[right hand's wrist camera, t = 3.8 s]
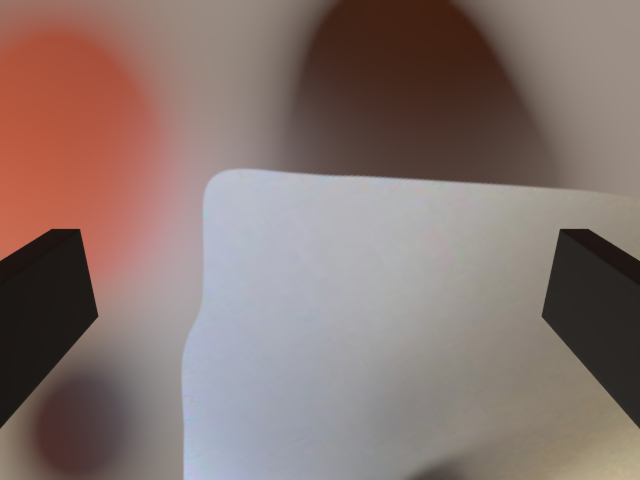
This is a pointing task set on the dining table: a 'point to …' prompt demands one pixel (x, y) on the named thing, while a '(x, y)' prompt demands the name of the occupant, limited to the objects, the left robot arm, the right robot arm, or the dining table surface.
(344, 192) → the dining table surface
